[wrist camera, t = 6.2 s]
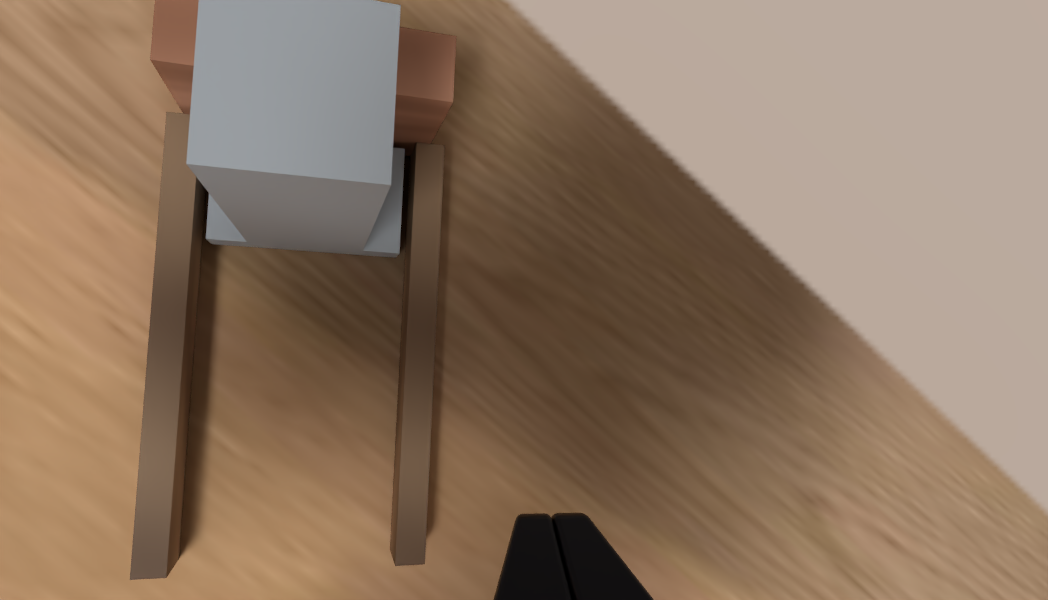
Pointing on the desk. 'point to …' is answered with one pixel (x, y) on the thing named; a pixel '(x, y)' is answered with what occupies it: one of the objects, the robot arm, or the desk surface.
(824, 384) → the desk surface
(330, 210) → the sliding block
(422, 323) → the guide track
